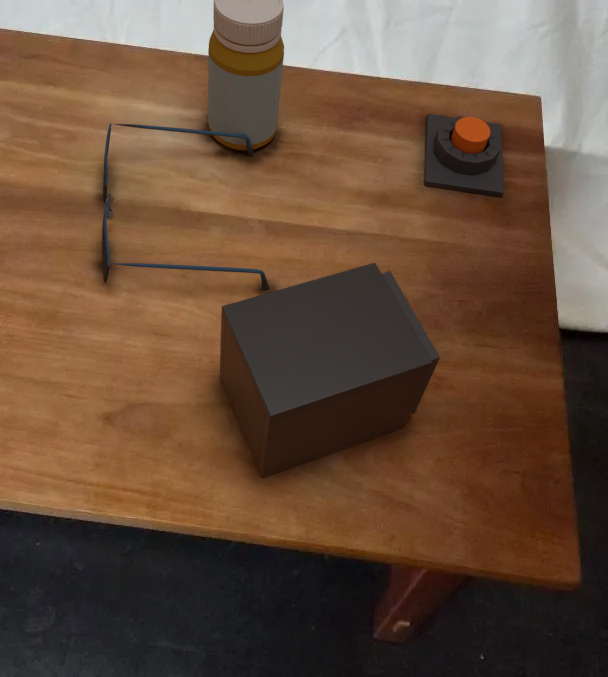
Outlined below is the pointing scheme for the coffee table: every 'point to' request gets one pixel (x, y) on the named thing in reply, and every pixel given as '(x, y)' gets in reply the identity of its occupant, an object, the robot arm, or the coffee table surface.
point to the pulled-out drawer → (418, 330)
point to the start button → (470, 135)
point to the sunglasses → (109, 213)
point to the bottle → (245, 70)
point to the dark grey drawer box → (319, 367)
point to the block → (462, 160)
